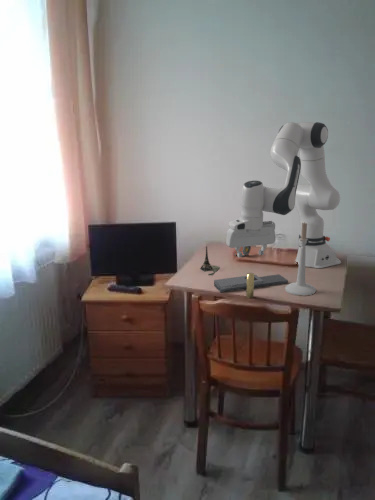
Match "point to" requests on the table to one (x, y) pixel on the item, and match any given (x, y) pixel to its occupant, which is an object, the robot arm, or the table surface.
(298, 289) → the candlestick
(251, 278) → the brass pin
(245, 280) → the long grey slab
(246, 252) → the pocket watch
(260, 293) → the table surface
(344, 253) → the table surface
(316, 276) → the table surface
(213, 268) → the eiffel tower figurine
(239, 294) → the table surface
